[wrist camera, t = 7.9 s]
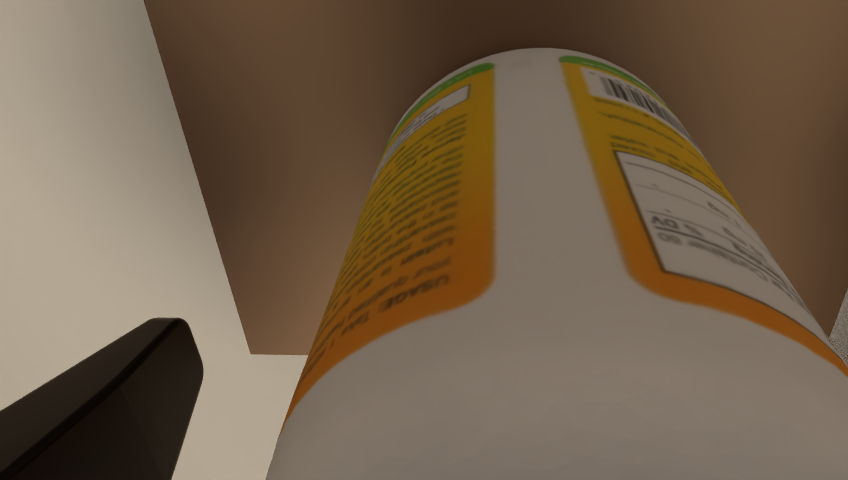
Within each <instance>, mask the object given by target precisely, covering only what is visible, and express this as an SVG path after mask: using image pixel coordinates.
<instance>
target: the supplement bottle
mask: <svg viewBox="0 0 848 480" xmlns="http://www.w3.org/2000/svg"><path fill="white" fill-rule="evenodd" d="M266 480H848V365H847V364H846V362H845V361H844V360H843V358H842V357H841V355H840V354H839V352H838V351H837V350H836V348H835V347H834V346H833V344H832V343H831V341H830V340H829V338H828V337H827V335H826V334H825V332H824V331H823V330H822V328H821V327H820V325H819V324H818V322H817V321H816V319H815V318H814V316H813V315H812V314H811V312H810V311H809V309H808V308H807V306H806V305H805V303H804V302H803V300H802V299H801V297H800V296H799V294H798V293H797V291H796V290H795V288H794V287H793V286H792V284H791V283H790V281H789V280H788V278H787V277H786V275H785V274H784V272H783V271H782V269H781V268H780V267H779V265H778V264H777V262H776V261H775V259H774V258H773V257H772V255H771V254H770V252H769V251H768V249H767V248H766V246H765V245H764V243H763V242H762V240H761V239H760V237H759V236H758V234H757V233H756V232H755V231H754V229H753V228H752V226H751V225H750V223H749V222H748V220H747V219H746V217H745V216H744V214H743V213H742V211H741V210H740V208H739V207H738V205H737V203H736V202H735V201H734V199H733V198H732V196H731V195H730V193H729V192H728V191H727V189H726V188H725V186H724V185H723V183H722V182H721V180H720V179H719V177H718V176H717V174H716V173H715V172H714V170H713V169H712V167H711V166H710V164H709V163H708V161H707V159H706V158H705V157H704V155H703V154H702V152H701V151H700V149H699V148H698V146H697V145H696V144H695V142H694V141H693V139H692V138H691V137H690V135H689V133H688V132H687V131H686V129H685V128H684V126H683V125H682V124H681V122H680V121H679V120H678V118H677V117H676V116H675V114H674V113H673V112H672V110H671V109H670V108H669V107H668V106H667V105H666V104H665V103H664V101H663V100H662V99H661V98H660V97H659V96H658V95H657V94H656V93H655V92H654V91H653V90H652V89H651V88H650V87H649V86H648V85H647V84H645V83H644V82H643V81H641V80H640V79H639V78H637V77H636V76H635V75H633V74H631V73H630V72H628V71H627V70H625V69H623V68H621V67H619V66H617V65H615V64H613V63H611V62H609V61H607V60H604V59H601V58H598V57H595V56H592V55H589V54H586V53H581V52H577V51H572V50H566V49H557V48H527V49H516V50H511V51H506V52H502V53H498V54H494V55H490V56H487V57H485V58H482V59H479V60H477V61H474V62H472V63H469V64H467V65H465V66H463V67H461V68H459V69H457V70H456V71H454V72H452V73H450V74H449V75H447V76H446V77H444V78H443V79H441V80H440V81H439V82H437V83H436V84H435V85H433V86H432V87H431V88H429V89H428V90H427V91H426V92H425V93H424V94H423V95H421V96H420V97H419V98H418V99H417V100H416V101H415V102H414V103H413V105H412V106H411V107H410V108H409V109H408V110H407V112H406V113H405V114H404V115H403V117H402V118H401V120H400V121H399V123H398V124H397V126H396V127H395V129H394V131H393V133H392V135H391V137H390V139H389V141H388V143H387V145H386V148H385V150H384V152H383V154H382V156H381V159H380V161H379V164H378V167H377V170H376V173H375V175H374V177H373V180H372V184H371V187H370V190H369V192H368V195H367V198H366V201H365V203H364V206H363V209H362V212H361V214H360V217H359V220H358V223H357V226H356V229H355V231H354V234H353V237H352V240H351V243H350V245H349V248H348V250H347V253H346V255H345V258H344V261H343V264H342V266H341V269H340V272H339V275H338V278H337V280H336V283H335V286H334V289H333V291H332V294H331V297H330V299H329V302H328V305H327V307H326V310H325V313H324V315H323V318H322V321H321V323H320V326H319V329H318V331H317V334H316V337H315V340H314V342H313V345H312V348H311V350H310V353H309V356H308V358H307V361H306V364H305V366H304V369H303V372H302V374H301V377H300V379H299V382H298V385H297V387H296V390H295V393H294V395H293V398H292V401H291V404H290V406H289V409H288V412H287V415H286V418H285V421H284V423H283V426H282V429H281V432H280V435H279V437H278V441H277V444H276V448H275V451H274V455H273V458H272V461H271V464H270V467H269V470H268V473H267V477H266Z"/></svg>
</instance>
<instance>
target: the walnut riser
mask: <svg viewBox="0 0 848 480" xmlns="http://www.w3.org/2000/svg"><path fill="white" fill-rule="evenodd" d="M144 3H145V6H146V10H147V13H148V16H149V19H150V23H151V26H152V29H153V33H154V36H155V39H156V43H157V46H158V49H159V53H160V56H161V59H162V62H163V66H164V69H165V72H166V76H167V79H168V82H169V86H170V89H171V92H172V96H173V99H174V102H175V105H176V109H177V112H178V115H179V119H180V122H181V125H182V129H183V132H184V135H185V139H186V142H187V145H188V148H189V152H190V155H191V158H192V162H193V165H194V168H195V172H196V175H197V178H198V181H199V185H200V188H201V191H202V195H203V198H204V201H205V205H206V208H207V211H208V215H209V218H210V221H211V224H212V228H213V231H214V234H215V238H216V241H217V244H218V248H219V251H220V254H221V258H222V261H223V264H224V267H225V271H226V274H227V277H228V281H229V284H230V287H231V291H232V294H233V297H234V301H235V304H236V307H237V310H238V314H239V317H240V320H241V324H242V327H243V330H244V334H245V337H246V340H247V344H248V347H249V350H250V353H251V354H272V355H309V353H310V350H311V348H312V345H313V342H314V340H315V337H316V334H317V331H318V329H319V326H320V323H321V321H322V318H323V315H324V313H325V310H326V307H327V305H328V302H329V299H330V297H331V294H332V291H333V289H334V286H335V283H336V280H337V278H338V275H339V272H340V269H341V266H342V264H343V261H344V258H345V255H346V253H347V250H348V248H349V245H350V243H351V240H352V237H353V234H354V231H355V229H356V226H357V223H358V220H359V217H360V214H361V212H362V209H363V206H364V203H365V201H366V198H367V195H368V192H369V190H370V187H371V184H372V180H373V177H374V175H375V173H376V170H377V167H378V164H379V161H380V159H381V156H382V154H383V152H384V150H385V148H386V145H387V143H388V141H389V139H390V137H391V135H392V133H393V131H394V129H395V127H396V126H397V124H398V123H399V121H400V120H401V118H402V117H403V115H404V114H405V113H406V112H407V110H408V109H409V108H410V107H411V106H412V105H413V103H414V102H415V101H416V100H417V99H418V98H419V97H420V96H421V95H423V94H424V93H425V92H426V91H427V90H428V89H429V88H431V87H432V86H433V85H435V84H436V83H437V82H439V81H440V80H441V79H443V78H444V77H446V76H447V75H449V74H450V73H452V72H454V71H456V70H457V69H459V68H461V67H463V66H465V65H467V64H469V63H472V62H474V61H477V60H479V59H482V58H485V57H487V56H490V55H494V54H498V53H502V52H506V51H511V50H516V49H527V48H557V49H566V50H572V51H577V52H581V53H586V54H589V55H592V56H595V57H598V58H601V59H604V60H607V61H609V62H611V63H613V64H615V65H617V66H619V67H621V68H623V69H625V70H627V71H628V72H630V73H631V74H633V75H635V76H636V77H637V78H639V79H640V80H641V81H643V82H644V83H645V84H647V85H648V86H649V87H650V88H651V89H652V90H653V91H654V92H655V93H656V94H657V95H658V96H659V97H660V98H661V99H662V100H663V101H664V103H665V104H666V105H667V106H668V107H669V108H670V109H671V110H672V112H673V113H674V114H675V116H676V117H677V118H678V120H679V121H680V122H681V124H682V125H683V126H684V128H685V129H686V131H687V132H688V133H689V135H690V137H691V138H692V139H693V141H694V142H695V144H696V145H697V146H698V148H699V149H700V151H701V152H702V154H703V155H704V157H705V158H706V159H707V161H708V163H709V164H710V166H711V167H712V169H713V170H714V172H715V173H716V174H717V176H718V177H719V179H720V180H721V182H722V183H723V185H724V186H725V188H726V189H727V191H728V192H729V193H730V195H731V196H732V198H733V199H734V201H735V202H736V203H737V205H738V207H739V208H740V210H741V211H742V213H743V214H744V216H745V217H746V219H747V220H748V222H749V223H750V225H751V226H752V228H753V229H754V231H755V232H756V233H757V234H758V236H759V237H760V239H761V240H762V242H763V243H764V245H765V246H766V248H767V249H768V251H769V252H770V254H771V255H772V257H773V258H774V259H775V261H776V262H777V264H778V265H779V267H780V268H781V269H782V271H783V272H784V274H785V275H786V277H787V278H788V280H789V281H790V283H791V284H792V286H793V287H794V288H795V290H796V291H797V293H798V294H799V296H800V297H801V299H802V300H803V302H804V303H805V305H806V306H807V308H808V309H809V311H810V312H811V314H812V315H813V316H814V318H815V319H816V321H817V322H818V324H819V325H820V327H821V328H822V330H823V331H824V332H825V334H826V335H827V337H828V338H829V336H830V334H831V331H832V328H833V326H834V323H835V320H836V318H837V315H838V312H839V310H840V307H841V304H842V302H843V299H844V296H845V294H846V291H847V288H848V0H144Z"/></svg>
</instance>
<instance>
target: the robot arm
mask: <svg viewBox="0 0 848 480" xmlns="http://www.w3.org/2000/svg"><path fill="white" fill-rule="evenodd" d="M202 380H203V363H202V360H201V357H200V354H199V352H198V349H197V346H196V343H195V341H194V338H193V335H192V332H191V330H190V327H189V325H188V323H187V322H186V321H185V320H183V319H181V318H153V319H150V320H148V321H146V322H145V323H143V324H142V325H140V326H138V327H137V328H135V329H133V330H132V331H130V332H128V333H127V334H125V335H124V336H122V337H120V338H119V339H117V340H115V341H114V342H112V343H111V344H109V345H107V346H106V347H104V348H102V349H101V350H99V351H97V352H96V353H94V354H93V355H91V356H89V357H88V358H86V359H84V360H83V361H81V362H79V363H78V364H76V365H75V366H73V367H71V368H70V369H68V370H66V371H65V372H63V373H62V374H60V375H58V376H57V377H55V378H53V379H52V380H50V381H48V382H47V383H45V384H44V385H42V386H40V387H39V388H37V389H35V390H34V391H32V392H31V393H29V394H27V395H26V396H24V397H22V398H21V399H19V400H17V401H16V402H14V403H13V404H11V405H9V406H8V407H6V408H4V409H3V410H1V411H0V480H171V479H172V476H173V473H174V470H175V467H176V464H177V461H178V457H179V454H180V451H181V448H182V445H183V442H184V438H185V435H186V432H187V429H188V426H189V422H190V419H191V416H192V413H193V410H194V407H195V403H196V400H197V397H198V394H199V391H200V387H201V384H202Z"/></svg>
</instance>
